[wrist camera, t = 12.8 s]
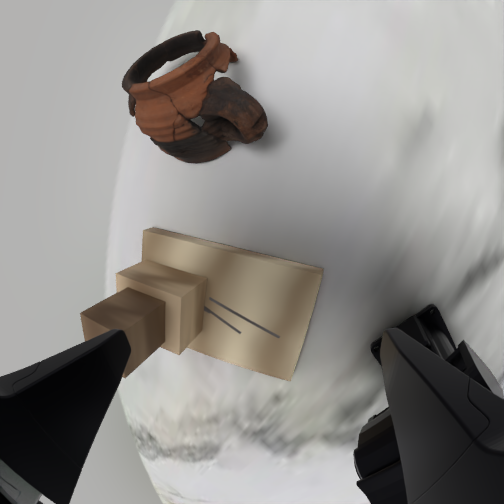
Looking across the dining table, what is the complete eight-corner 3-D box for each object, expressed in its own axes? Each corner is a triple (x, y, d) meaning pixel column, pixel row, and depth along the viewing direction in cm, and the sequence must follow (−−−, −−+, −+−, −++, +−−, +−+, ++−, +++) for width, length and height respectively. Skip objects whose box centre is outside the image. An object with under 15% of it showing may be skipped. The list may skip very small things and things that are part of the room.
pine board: (323, 269, 20) (322, 275, 19) (293, 371, 23) (290, 381, 22) (153, 227, 24) (143, 230, 22) (150, 322, 27) (142, 328, 25)
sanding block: (207, 278, 21) (135, 332, 13) (202, 330, 23) (141, 394, 15) (146, 259, 23) (67, 296, 14) (146, 309, 24) (78, 355, 16)
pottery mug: (146, 153, 23) (92, 97, 15) (210, 85, 24) (175, 23, 16) (247, 207, 18) (192, 125, 11) (318, 115, 19) (302, 25, 11)
